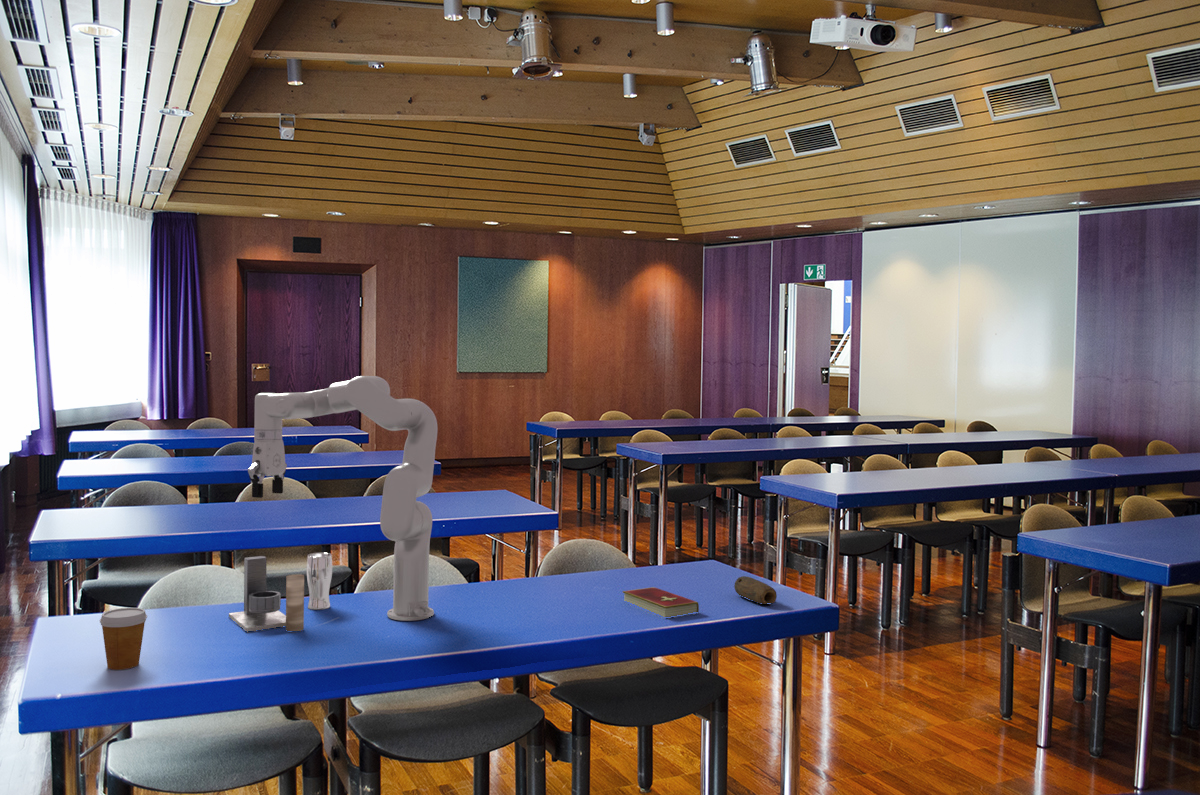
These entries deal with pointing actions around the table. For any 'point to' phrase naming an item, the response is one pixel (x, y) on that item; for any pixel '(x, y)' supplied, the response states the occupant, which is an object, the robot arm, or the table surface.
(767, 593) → the stone weight
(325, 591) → the beer glass
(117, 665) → the disposable coffee cup
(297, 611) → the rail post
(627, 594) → the hardcover book
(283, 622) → the cup bracket
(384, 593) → the table surface
